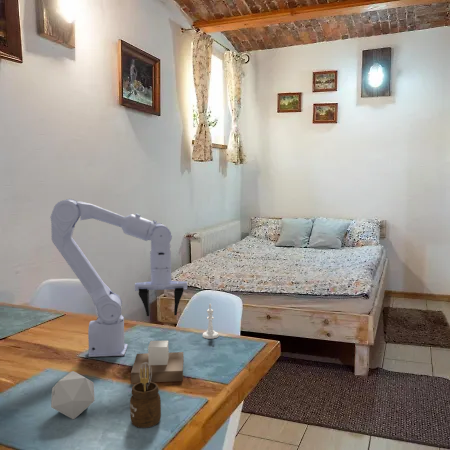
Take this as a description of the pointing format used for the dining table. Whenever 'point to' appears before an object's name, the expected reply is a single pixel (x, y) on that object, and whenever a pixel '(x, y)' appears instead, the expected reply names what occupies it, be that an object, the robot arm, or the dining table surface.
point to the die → (72, 395)
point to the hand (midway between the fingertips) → (162, 314)
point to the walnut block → (159, 368)
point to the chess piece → (210, 326)
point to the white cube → (158, 353)
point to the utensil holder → (145, 402)
